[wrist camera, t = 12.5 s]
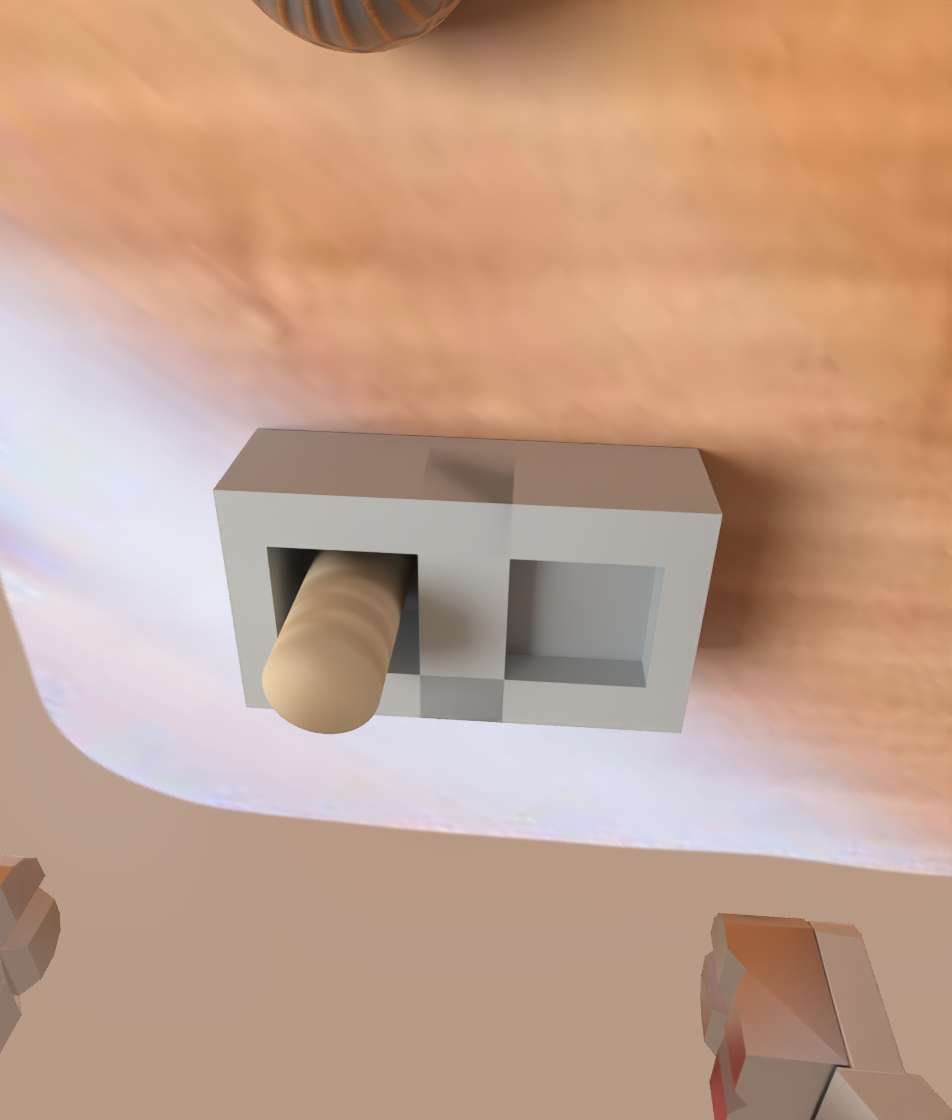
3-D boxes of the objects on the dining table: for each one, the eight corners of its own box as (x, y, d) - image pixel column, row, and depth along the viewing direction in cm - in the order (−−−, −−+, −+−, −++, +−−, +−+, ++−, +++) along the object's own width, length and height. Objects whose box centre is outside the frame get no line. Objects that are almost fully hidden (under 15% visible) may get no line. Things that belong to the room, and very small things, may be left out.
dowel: (414, 516, 32) (379, 643, 25) (415, 597, 34) (382, 737, 27) (317, 510, 32) (256, 635, 25) (323, 592, 34) (267, 730, 27)
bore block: (697, 448, 31) (722, 514, 27) (664, 649, 36) (681, 733, 31) (257, 428, 32) (213, 490, 28) (280, 628, 36) (246, 707, 32)
